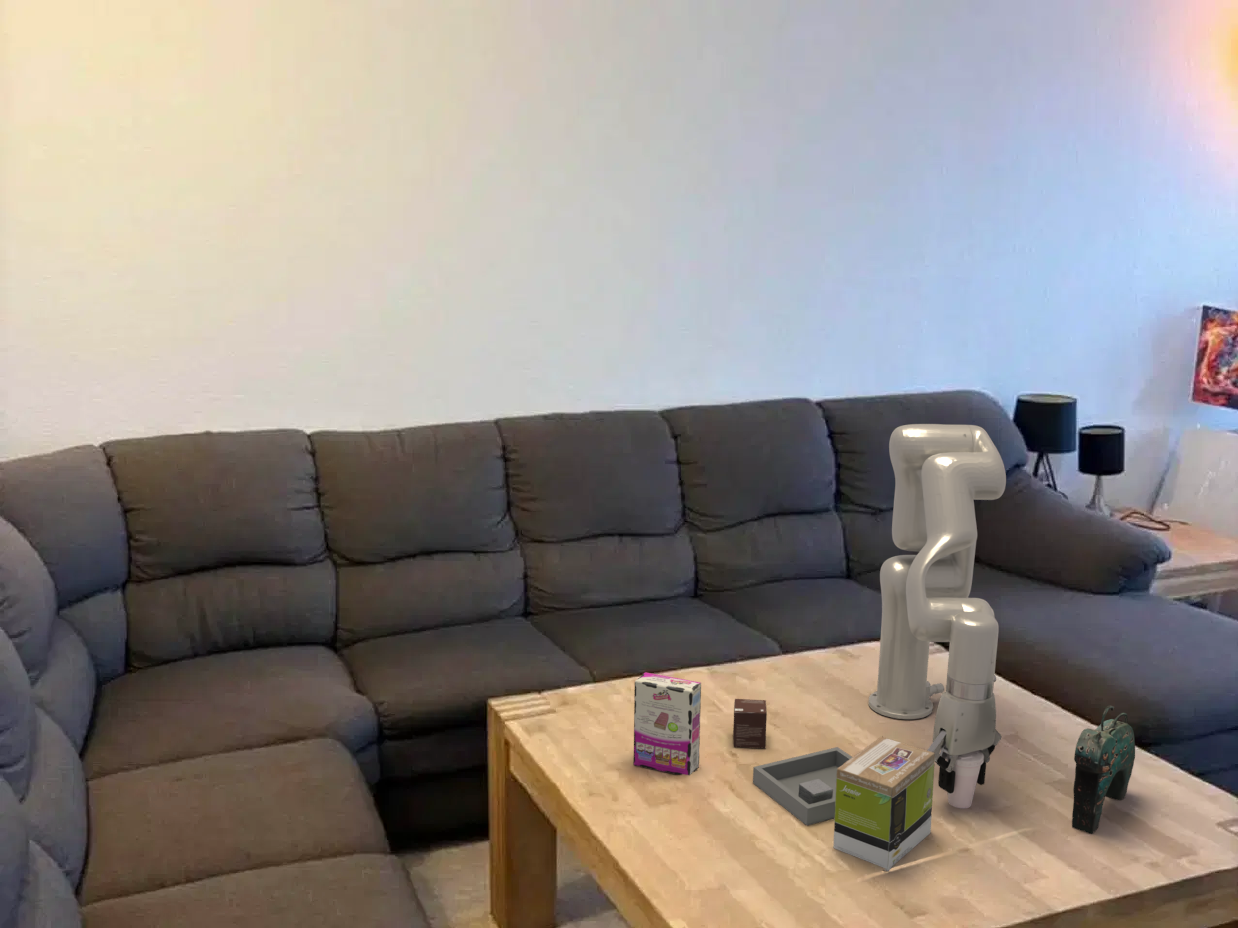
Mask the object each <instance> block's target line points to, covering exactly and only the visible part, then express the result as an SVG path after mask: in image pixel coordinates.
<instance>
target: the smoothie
mask: <svg viewBox="0 0 1238 928" xmlns="http://www.w3.org/2000/svg"><path fill="white" fill-rule="evenodd" d="M949 757H950V755H948V754H947V757H946V759H945V760H946V761H947V762H948V760H949ZM983 759H984V755H983V754H982V753H981V752H980V751H979V750H978V751H974V752H970V753H966V754H962V755H958V757H957V760H956V762H955V765H954V768H953V771H955V785H954V792H953V793H948V792H947V801H948V804H949V805H950V806H952V807H953V808H957V809H968V808H971V806H972V803H973V799H974V795H975V791H976V787H977V784H978V783H977V779H978V775H979V771H980V766H981V765H982V764H983V762H984V760H983Z"/></svg>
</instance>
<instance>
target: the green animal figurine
mask: <svg viewBox="0 0 1238 928" xmlns="http://www.w3.org/2000/svg"><path fill="white" fill-rule="evenodd" d="M1114 708H1115V706H1113V705H1108V706H1106V707H1105V708H1104V710H1103V713H1102V714H1101V715H1102V716H1101V721H1100V724H1099V725H1098V726H1097V727H1096V729H1094V728H1089V727H1087V728H1085V729H1082V731H1081V733H1080V735H1079V736H1078V739H1077V741H1076V742H1077V743H1076V745H1075V750H1074V757H1073V760H1074V762H1075V769H1074V770H1075V773H1074V782H1073V789H1072V790H1073V805H1072V813H1071V815H1072V816H1071V818H1072V819H1071V827H1072V828H1074V829H1076V830H1078V831H1081V832H1084V833H1087V834H1090V835H1093V834H1094V833H1095V832H1096V831H1097V830H1098V829H1099V826H1100V822H1101V817H1102V812H1103V807H1104V802H1105V799H1106V798H1111V799H1113V800H1116V801H1122V800H1124V799H1125V798H1126V796H1127V792H1128V787H1129V783H1130V779H1131V777H1132V774H1133V768H1134V765H1135V764H1134V763H1135V760H1136V759H1135V758H1136V741H1135V733H1134V730H1133V727H1132V726H1131V725H1130V724H1128V717H1129V716H1128V714H1127V713H1126V712H1121V713H1120V714H1118V715H1117V716H1116V717H1115V718H1114V719H1113V718H1111V719H1107V720H1105V717H1106V715H1107V713H1108V711H1109V710H1111V712H1113V710H1115V709H1114ZM1121 717H1124V721H1119V719H1120V718H1121Z"/></svg>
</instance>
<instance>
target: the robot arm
mask: <svg viewBox="0 0 1238 928" xmlns="http://www.w3.org/2000/svg"><path fill="white" fill-rule="evenodd" d="M888 448H889V449H888V450H889V458H890V462H891V465H892V469H893V473H894V478H895V479H894V480H895V482H894V483H895V487H894V498H893V510H892V524H891V525H892V526H891V537H892V542H893V543H894V545H895V546H896V547H897V548H898V549H900V550H903V551H908V552H918V553H917V554H900V555H895V556H892V557H889V558H887V559H886V560H884V561H883V563H882V565H881V567H880V570H879V571H880V572H879V582H880V592H881V624H880V625H881V628H880V641H879V656H878V657H879V659H878V671H877V672H878V673H877V686H876V688H877V689H876V691H874V692H872V693H871V694H870V695H869V697H868V706H869V707H870V708H871V710H873V712H876V713H877V714H879V715H882V716H884V717H887V718H891V719H897V720H918V719H923V718H925V717H928V716H929V715H930V714H932V713H933V709H934V708H933V707H934V704H933V702H932V700H931V699H930V697H933V696H934V695H938V694H941V695H940V698H939V702H938V705H937V709H936V713H935V717H934V718H935V719H934V720H935V721H934V726H933V731H932V732H933V733H932V743H930V745H929V747H928V748H927V749H926V751H930V752H933V753H935V762H934V763H935V764H936V765H937V766H938V767H939V768H938V769H939V771H938V787H939V788H940V789H942V790H944V791H945V792H947V794H948V793H953V792H954V785H955V771H953V768H954V765H955V762H956V760H957V757H958V755H962V754H966V753H970V752H974V751H978V750H979V751H980V752H981V753H982V754H983V755H984V759H983V760H984V762H983V764H982V765H981V766H980V771H979V775H978V779H977V783H976V784H978V785H980V786H983V785H985V783H986V782H985V781H986V769H987V763H989V762H990V759H991V755H992V753H993V752H994V751H995V749H996V746H997V745H998V743H999V742H1000V741H1002V738H1003V737H1002V736H1003V735H1001V733H1000V732H999V731H998V729H997V707H996V704H997V703H996V697H995V693H994V687H995V686H994V683H995V682H996V681H997V677H996V675H995V672H996V663H997V661H996V660H997V651H998V639H999V628H1000V627H999V623H998V621H997V618H995V617H996V616H995V612H994V609H993V608H992V606H990V605H991V604H989V602H988V601H986V599H983V598H979V597H969V596H970V594H971V591H972V583H973V578H974V577H973V575H974V566H975V565H974V564H975V555H976V547H977V540H978V529H977V527H978V526H977V520H976V510H975V502H974V500H975V501H976V500H977V501H979V500H981V501H983V500H984V501H987V500H988V501H994V500H997V499H1000V498H1001V497H1002V495H1003V494H1004V492H1005V490H1006V484H1007V475H1006V469H1005V464H1004V461H1003V459H1002V456H1001V454H1000V452H999V450H998V448H997V447H996V445H995V444H994V442H993V441H992V438H991V437H990V435H989V434H988V432H987V431H986V430H985V429H984V428H983V427H981V426H978V425H975V424H944V423H943V424H940V423H912V424H910V423H909V424H905V425H900V426H898V427H896V428H894V429H893V431H892V433H891V435H890V438H889V444H888ZM931 643H949V647H948V659H947V674H946V684H945V686H944V684H943V683H940V682H939V683H935V684H932V685H931V682H930V681H929V680H927V679H928V669H929V657H930V655H929V654H930V644H931ZM947 754H948V755H950V757H949V760H948V762H947V761H946V757H947Z"/></svg>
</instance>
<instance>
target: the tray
mask: <svg viewBox="0 0 1238 928" xmlns="http://www.w3.org/2000/svg"><path fill="white" fill-rule="evenodd" d="M852 757H853V756H852V755H851V754H849V753H847V752H845V751H844V750H842V749H841V748H840V747H839V746H835V747H832V748H828V749H823V750H819V751H815V752H812V753H807V754H803V755H802V754H801V755H797V756H795V757H790V758H785V759H781V760H777V761H773V762H772V761H771V762H769V763H765V764H760V765H756V766H753V768H752V769H753V771H752V784H753V785H755V786H756V787H757V788H758V789H759V790H761V791H762V792H764V793H765V794H766V795H767V796H768V797H770V798H771V799H772V800H773V801H775V802H776V803H778V805H780V806H781V807H782V808H783V809H785V810H787V811H788V813H790V814H791V815H793V816H794V817H795V818H796V819H798V820H799V821H800V822H801V823H803V824H804V825H805V826H810V825H814V824H818V823H821V822H824V821H825V822H826V821H828V820H829V821H830V820H833V819H835V797H836V775H837V768H838V767H840V766H842V765H843V764H844V763H845V762H847V761H848V760H849V759H851V758H852ZM816 779H820V780H821V781H822V782H824V783H825V784H826V785H828V786H829V787H831V788H832V789H833V798H832V799H828V800H824V801H821V802H817V803H813V804H808V803H806V802H805V801H804V800H802V799H801V798H800V797H799V796H798V795H799V784H800V783H804V782H808V781H812V780H816Z"/></svg>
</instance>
